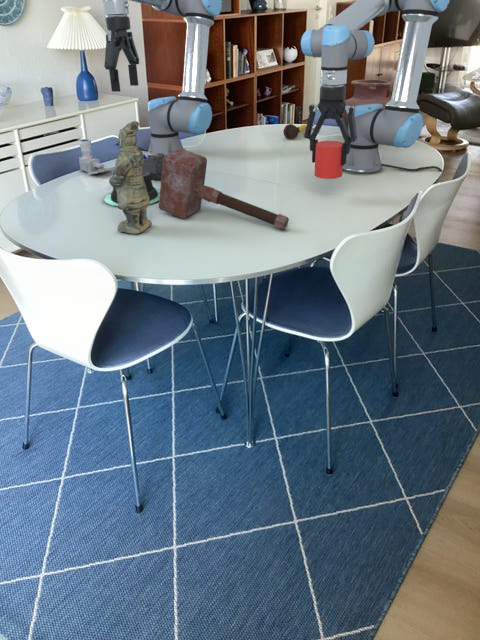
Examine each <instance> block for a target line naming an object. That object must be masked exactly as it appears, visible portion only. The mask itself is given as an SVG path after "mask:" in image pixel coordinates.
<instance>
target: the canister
mask: <svg viewBox="0 0 480 640" xmlns="http://www.w3.org/2000/svg"><path fill="white" fill-rule="evenodd" d="M343 143H344V142H342V141H339V140H321V141H318V142H317V143H316V148H315V162H314V174H313V175H314V177H315V178H318V179H325V180H334V179H339V178H341V177H342V176H343V172H344V171H343V165H341V158H342V144H343Z"/></svg>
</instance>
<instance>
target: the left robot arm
mask: <svg viewBox="0 0 480 640" xmlns="http://www.w3.org/2000/svg"><path fill="white" fill-rule="evenodd" d="M128 1H129V2H134V3H138V4H142V5H147V6H151V7H152V8H153V9H154V10H156V11H158V12H163V13H166V14H169V15H173V16H176V17H183V21H184V22H185V24H186V34H185V35H186V36H185V38H186V39H185V50H184V64H183V76H182V77H183V79H182V90H181V92H180V93H179V94H178V95H177V97H176V96H165V97H157V98H154V99H151V100H149V101H148V103H147V113H148V123H149V131H150V141H149V145H148V148H143V147H141V146H140V147H139V146H137V147H138V149H139V150H141V151H142V152H143V151H144V152H147V156H148V155H155V156H156V155H157V154H158V153H163V154H164V155H167V154H170V153H172V152H174V151H177V150H179V149H184V150H186V148H185V147H184V146H183V144H182V141H181V138H180V135H179V133H184V134H191V135H201V134H204V133H206V132H207V130H208V129H209V128H210V126H211V123H212V120H213V111H212V106H211V105H210V104H209V103H208V98H207V97H206V94H205V87H206V76H207V63H208V62H207V61H208V51H209V38H210V28H211V27H212V26H213V25H214V24H215V18H216V17H218V16H219V15H220V13H221V12H222V8H223V1H222V0H102V3H103V11H104V16H105V20H104V21H105V27H106V31H110V34H109V33H107V34H105V53H104V64H103V65H104V68H105V70H108V73H109V80H110V87H111V89H110V90H111V92H113V93H114V92H115V93H116V92H117V93H118V92H120V93H121V84H120V83H121V82H120V77H119V70H118V69H119V68H118V69H117V66H118V62H119V57H120V52H121V51H123V53H124V56H125V58H126V60H127V61H128V64H127V68H128V77H129V86H130V87H131V86H134V87H135V86H136V87H138V86H139V78H138V77H139V76H138V68H137V65H140V58H139V54H138V51H137V48H136V44H135V41H134V38H133V31H129V30H131V19H130V17H129V16H128V15H129V14H130V12H129V7H130V4H129V2H128Z"/></svg>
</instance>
